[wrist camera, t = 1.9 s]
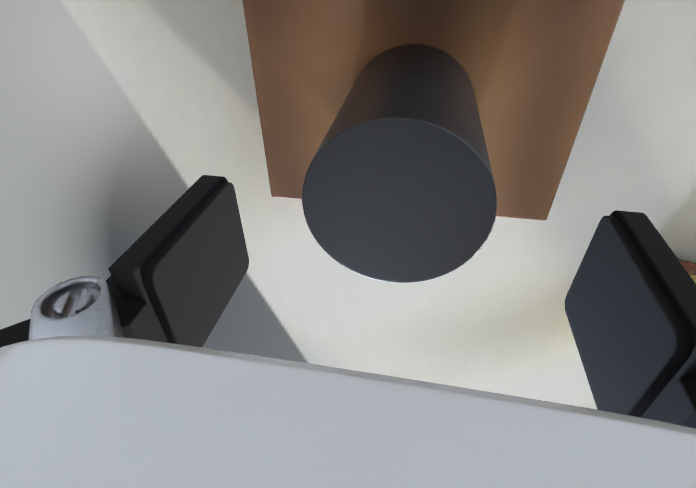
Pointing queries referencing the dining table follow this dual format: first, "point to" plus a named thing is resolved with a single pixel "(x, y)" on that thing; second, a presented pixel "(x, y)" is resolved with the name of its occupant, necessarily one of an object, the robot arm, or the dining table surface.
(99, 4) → the dining table surface
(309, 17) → the step shelf
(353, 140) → the canister
